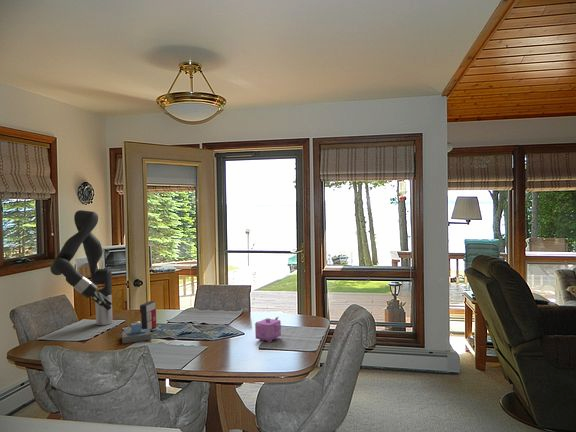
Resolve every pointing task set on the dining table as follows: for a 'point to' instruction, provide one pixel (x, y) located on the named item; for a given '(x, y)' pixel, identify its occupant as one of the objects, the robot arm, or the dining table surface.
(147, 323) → the grey red upright box
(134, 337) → the chassis
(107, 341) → the dining table surface
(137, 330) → the servo
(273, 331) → the teapot
